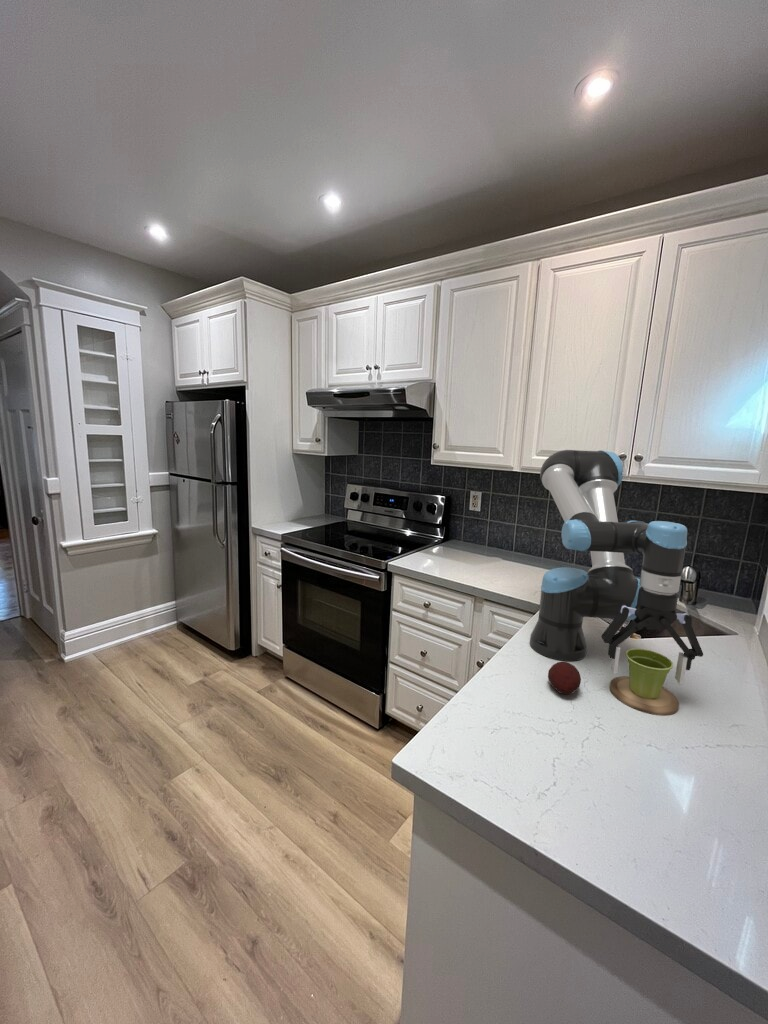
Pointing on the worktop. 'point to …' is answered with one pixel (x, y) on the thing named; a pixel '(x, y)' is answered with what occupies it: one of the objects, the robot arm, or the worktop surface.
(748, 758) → the worktop surface
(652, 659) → the plant pot
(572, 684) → the potato
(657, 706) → the plate
